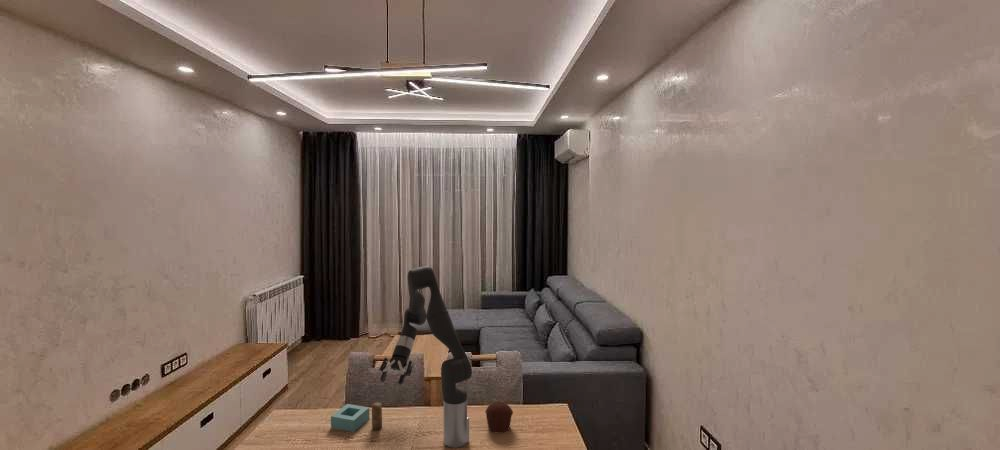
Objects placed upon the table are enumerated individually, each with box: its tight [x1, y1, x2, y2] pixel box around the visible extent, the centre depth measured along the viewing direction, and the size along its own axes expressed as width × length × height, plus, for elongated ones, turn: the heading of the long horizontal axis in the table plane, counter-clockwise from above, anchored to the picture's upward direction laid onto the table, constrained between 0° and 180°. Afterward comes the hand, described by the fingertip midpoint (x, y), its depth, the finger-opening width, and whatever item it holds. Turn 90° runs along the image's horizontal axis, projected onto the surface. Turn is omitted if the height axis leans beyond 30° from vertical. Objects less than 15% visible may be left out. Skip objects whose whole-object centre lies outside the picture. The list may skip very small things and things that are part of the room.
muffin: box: [484, 401, 514, 433], centre depth 183 cm, size 12×11×10 cm
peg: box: [371, 402, 383, 432], centre depth 182 cm, size 4×4×10 cm
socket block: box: [330, 403, 370, 433], centre depth 186 cm, size 11×11×5 cm
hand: (390, 382), depth 192 cm, fingers open, 8 cm apart
